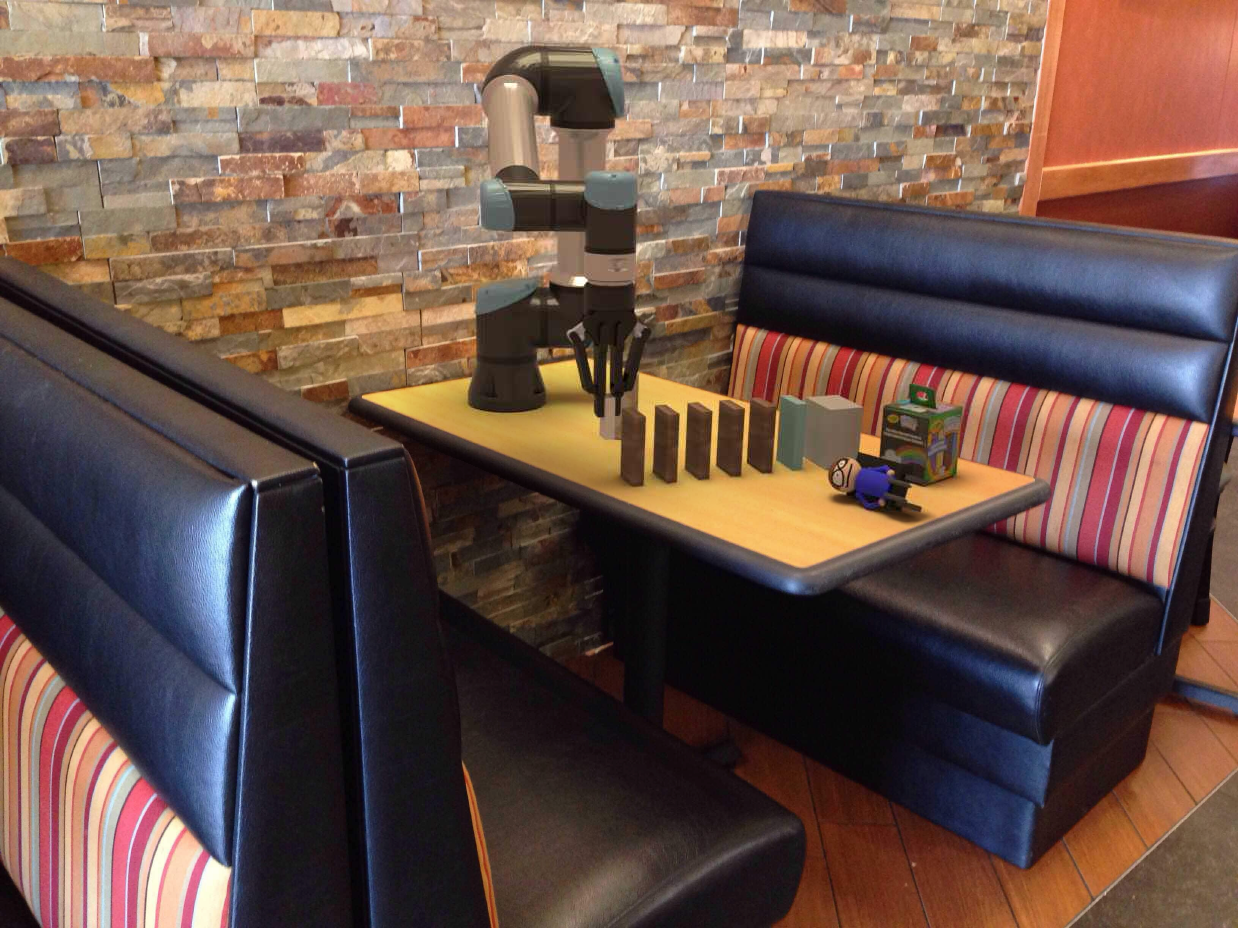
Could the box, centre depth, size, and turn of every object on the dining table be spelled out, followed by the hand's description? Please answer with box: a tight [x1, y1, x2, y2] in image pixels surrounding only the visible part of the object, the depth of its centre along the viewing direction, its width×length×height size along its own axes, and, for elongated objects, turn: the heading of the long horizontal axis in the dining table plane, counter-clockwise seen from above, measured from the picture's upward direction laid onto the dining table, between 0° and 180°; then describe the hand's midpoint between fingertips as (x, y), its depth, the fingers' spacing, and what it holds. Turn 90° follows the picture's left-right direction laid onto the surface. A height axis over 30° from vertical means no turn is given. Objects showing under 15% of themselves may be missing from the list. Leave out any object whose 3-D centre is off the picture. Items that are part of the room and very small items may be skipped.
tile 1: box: [619, 407, 647, 488], centre depth 169 cm, size 2×6×11 cm, turn 20°
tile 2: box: [652, 404, 681, 484], centre depth 170 cm, size 2×6×11 cm, turn 20°
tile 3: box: [684, 401, 714, 481], centre depth 172 cm, size 2×6×11 cm, turn 20°
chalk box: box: [878, 382, 964, 487], centre depth 174 cm, size 9×9×15 cm
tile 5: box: [746, 396, 777, 475], centre depth 176 cm, size 2×6×11 cm, turn 20°
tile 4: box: [715, 399, 746, 478], centre depth 174 cm, size 2×6×11 cm, turn 20°
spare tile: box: [775, 394, 807, 472], centre depth 178 cm, size 2×6×11 cm, turn 20°
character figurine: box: [827, 451, 929, 513], centre depth 161 cm, size 8×7×15 cm
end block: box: [803, 394, 864, 470], centre depth 180 cm, size 8×6×10 cm
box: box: [609, 370, 640, 440], centre depth 191 cm, size 5×4×11 cm
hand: (606, 436), depth 167 cm, fingers closed
